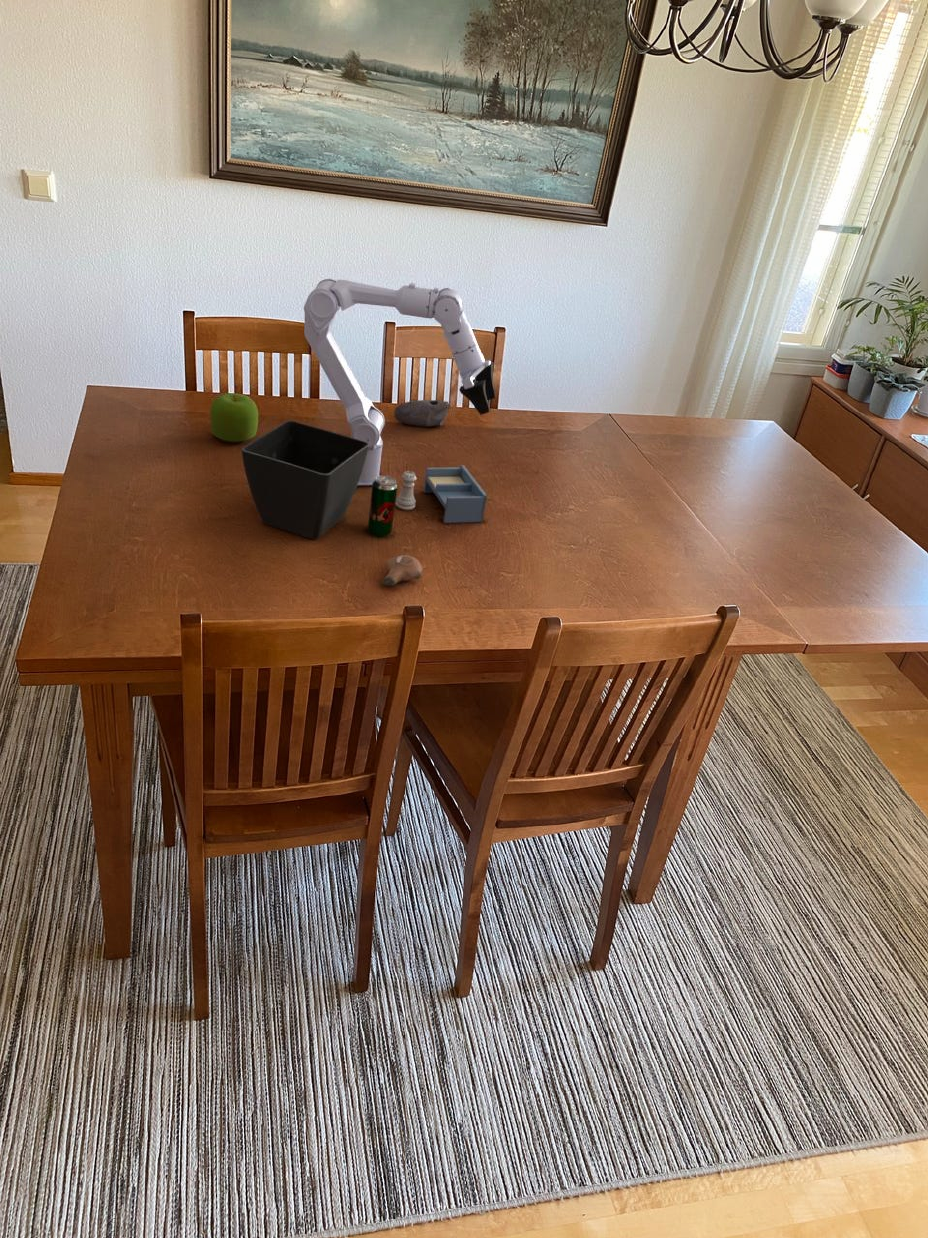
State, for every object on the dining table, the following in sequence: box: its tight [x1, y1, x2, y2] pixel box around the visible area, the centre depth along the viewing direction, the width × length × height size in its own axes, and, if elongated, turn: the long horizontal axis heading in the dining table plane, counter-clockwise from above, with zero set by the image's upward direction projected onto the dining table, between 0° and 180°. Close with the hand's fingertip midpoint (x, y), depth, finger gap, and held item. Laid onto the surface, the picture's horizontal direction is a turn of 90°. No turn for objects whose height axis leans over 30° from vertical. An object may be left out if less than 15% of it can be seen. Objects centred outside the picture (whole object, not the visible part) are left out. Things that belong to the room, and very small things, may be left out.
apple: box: [209, 392, 259, 444], centre depth 210 cm, size 11×11×11 cm
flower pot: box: [241, 420, 369, 540], centre depth 180 cm, size 19×19×17 cm
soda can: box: [367, 475, 398, 538], centre depth 182 cm, size 5×5×12 cm
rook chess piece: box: [395, 470, 418, 511], centre depth 195 cm, size 4×4×8 cm
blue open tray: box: [423, 464, 488, 524], centre depth 199 cm, size 9×15×6 cm, turn 20°
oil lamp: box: [381, 554, 423, 587], centre depth 171 cm, size 9×4×8 cm
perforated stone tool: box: [393, 399, 451, 428], centre depth 236 cm, size 15×5×7 cm, turn 101°
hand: (488, 405), depth 194 cm, fingers open, 7 cm apart
